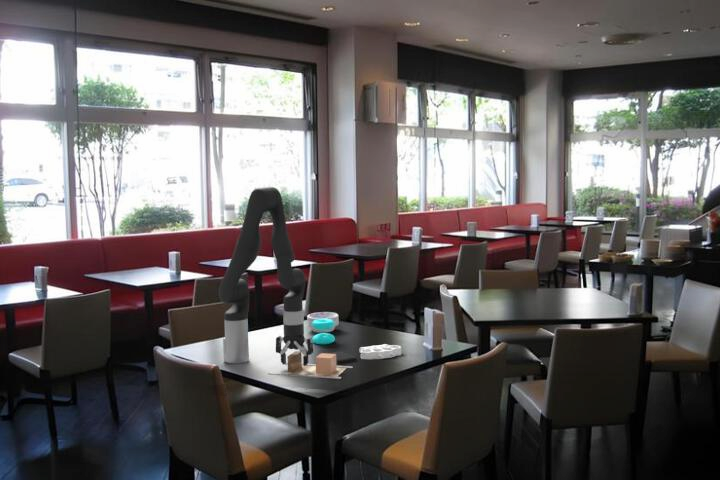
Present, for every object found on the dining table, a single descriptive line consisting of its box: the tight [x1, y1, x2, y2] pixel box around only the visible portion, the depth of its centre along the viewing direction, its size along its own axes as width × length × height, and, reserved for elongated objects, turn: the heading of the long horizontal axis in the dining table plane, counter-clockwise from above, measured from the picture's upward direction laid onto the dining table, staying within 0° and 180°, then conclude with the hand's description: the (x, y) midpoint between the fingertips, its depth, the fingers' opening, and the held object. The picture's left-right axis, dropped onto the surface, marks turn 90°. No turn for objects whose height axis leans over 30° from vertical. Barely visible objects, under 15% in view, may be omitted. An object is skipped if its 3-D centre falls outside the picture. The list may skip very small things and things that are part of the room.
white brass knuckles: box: [358, 343, 402, 360], centre depth 270 cm, size 3×18×15 cm
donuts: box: [312, 319, 336, 345], centre depth 293 cm, size 10×10×10 cm
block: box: [315, 352, 338, 374], centre depth 243 cm, size 6×6×6 cm
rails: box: [268, 362, 353, 380], centre depth 244 cm, size 28×15×2 cm, turn 74°
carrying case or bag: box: [325, 350, 359, 365], centre depth 261 cm, size 11×3×15 cm
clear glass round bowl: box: [306, 311, 340, 334], centre depth 317 cm, size 15×15×8 cm
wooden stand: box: [286, 350, 347, 377], centre depth 244 cm, size 20×12×7 cm, turn 74°
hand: (294, 364), depth 246 cm, fingers open, 8 cm apart
